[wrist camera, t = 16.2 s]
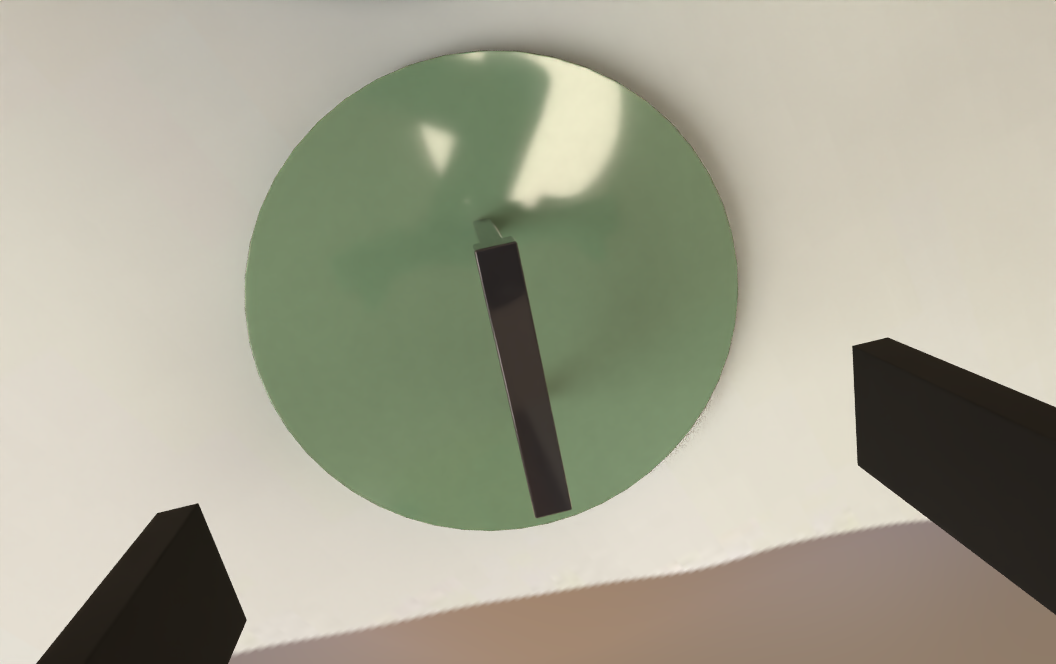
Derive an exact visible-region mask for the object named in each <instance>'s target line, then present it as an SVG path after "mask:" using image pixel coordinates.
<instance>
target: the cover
mask: <svg viewBox="0 0 1056 664" xmlns="http://www.w3.org/2000/svg"><path fill="white" fill-rule="evenodd" d="M737 299H738V280H737V261H736V255H735V249H734V243H733V237H732V232H731V229H730V225H729V222H728V219H727V216H726V212H725V209H724V206H723V203H722V201H721V199H720V196H719V194H718V192H717V190H716V188H715V186H714V183H713V181H712V179H711V177H710V175H709V173H708V172H707V170H706V168H705V167H704V165H703V164H702V162H701V161H700V159H699V157H698V156H697V154H696V153H695V151H694V150H693V148H692V147H691V146H690V144H689V143H688V142H687V141H686V140H685V139H684V137H683V136H682V135H681V134H680V133H679V132H678V130H677V129H676V128H675V127H674V126H673V125H672V123H671V122H670V121H668V120H667V119H666V118H665V117H664V116H663V115H662V114H660V113H659V112H658V111H657V110H656V109H655V108H654V107H653V106H651V105H650V104H649V103H648V102H647V101H646V100H644V99H643V98H641V97H640V96H638V95H637V94H635V93H634V92H632V91H631V90H629V89H628V88H626V87H625V86H623V85H621V84H620V83H618V82H617V81H615V80H613V79H610V78H608V77H606V76H604V75H602V74H600V73H598V72H596V71H594V70H591V69H589V68H587V67H585V66H581V65H578V64H575V63H572V62H568V61H565V60H562V59H559V58H555V57H552V56H546V55H540V54H533V53H527V52H521V51H489V50H480V51H472V52H464V53H457V54H449V55H443V56H440V57H436V58H432V59H429V60H425V61H422V62H418V63H414V64H411V65H408V66H406V67H404V68H401V69H399V70H397V71H394V72H392V73H390V74H388V75H385V76H383V77H381V78H378V79H376V80H375V81H373V82H371V83H370V84H368V85H367V86H365V87H363V88H362V89H360V90H359V91H357V92H355V93H354V94H352V95H351V96H349V97H347V98H346V99H344V100H343V101H342V102H341V103H340V104H339V105H337V106H336V107H335V108H334V109H333V110H331V111H330V112H329V113H328V114H327V115H326V116H324V117H323V118H322V119H321V120H320V121H318V122H317V123H316V125H315V126H314V127H313V128H312V129H311V130H310V131H309V133H308V134H307V135H306V136H305V137H304V138H303V139H302V140H301V142H300V143H299V144H298V145H297V146H296V147H295V148H294V150H293V151H292V153H291V154H290V156H289V157H288V159H287V160H286V162H285V163H284V165H283V166H282V168H281V170H280V171H279V173H278V174H277V176H276V177H275V179H274V181H273V183H272V185H271V187H270V189H269V192H268V194H267V196H266V198H265V200H264V202H263V205H262V207H261V209H260V211H259V215H258V218H257V221H256V225H255V228H254V231H253V235H252V238H251V241H250V246H249V253H248V260H247V267H246V273H245V314H246V321H247V329H248V336H249V343H250V346H251V350H252V353H253V357H254V360H255V364H256V367H257V371H258V374H259V376H260V378H261V381H262V383H263V385H264V388H265V390H266V392H267V394H268V397H269V399H270V401H271V403H272V405H273V406H274V408H275V410H276V411H277V413H278V415H279V416H280V418H281V420H282V421H283V423H284V424H285V426H286V428H287V429H288V430H289V432H290V433H291V434H292V435H293V437H294V438H295V439H296V440H297V442H298V443H299V444H300V445H301V447H302V448H303V449H304V450H305V452H306V453H307V454H308V455H309V456H310V457H311V458H313V459H314V460H315V461H316V462H317V463H318V464H319V465H320V466H321V467H322V468H323V469H324V470H325V471H326V472H327V473H328V474H330V475H331V476H332V477H334V478H335V479H336V480H338V481H339V482H340V483H342V484H343V485H344V486H346V487H347V488H349V489H350V490H351V491H353V492H354V493H356V494H358V495H360V496H361V497H363V498H365V499H367V500H369V501H370V502H372V503H374V504H376V505H378V506H380V507H382V508H384V509H387V510H389V511H392V512H394V513H397V514H399V515H401V516H404V517H406V518H410V519H414V520H417V521H421V522H424V523H428V524H432V525H436V526H442V527H449V528H455V529H462V530H483V531H496V530H510V529H522V528H527V527H532V526H537V525H543V524H548V523H551V522H555V521H558V520H561V519H564V518H568V517H571V516H574V515H577V514H579V513H582V512H584V511H586V510H588V509H591V508H593V507H595V506H598V505H600V504H602V503H604V502H606V501H607V500H609V499H611V498H613V497H614V496H616V495H618V494H619V493H621V492H623V491H625V490H626V489H628V488H629V487H631V486H632V485H633V484H635V483H636V482H637V481H639V480H640V479H641V478H643V477H644V476H645V475H647V474H648V473H649V472H651V471H652V470H653V469H654V468H655V467H656V466H657V465H658V464H659V463H660V462H661V461H662V460H663V459H665V458H666V457H667V456H668V455H669V454H670V453H671V452H672V451H673V449H674V448H675V447H676V446H677V445H678V444H679V442H680V441H681V440H682V439H683V438H684V436H685V435H686V434H687V433H688V432H689V431H690V429H691V428H692V426H693V425H694V423H695V422H696V420H697V419H698V417H699V416H700V414H701V413H702V411H703V410H704V408H705V407H706V405H707V403H708V401H709V399H710V397H711V395H712V393H713V391H714V389H715V387H716V385H717V383H718V381H719V378H720V375H721V373H722V370H723V367H724V364H725V361H726V359H727V356H728V353H729V349H730V344H731V340H732V336H733V331H734V327H735V320H736V310H737Z"/></svg>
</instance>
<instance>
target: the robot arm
mask: <svg viewBox="0 0 1056 664" xmlns="http://www.w3.org/2000/svg"><path fill="white" fill-rule="evenodd" d="M852 348H853V370H854V393H855V415H856V437H857V460H858V466H860V467H861V468H862V469H864V470H865V471H866V472H868V473H869V474H870V475H872V476H873V477H874V478H876V479H877V480H878V481H879V482H881V483H882V484H883V485H885V486H886V487H887V488H889V489H890V490H891V491H893V492H894V493H895V494H897V495H898V496H899V497H901V498H902V499H903V500H905V501H906V502H907V503H909V504H910V505H911V506H913V507H914V508H915V509H917V510H918V511H919V512H920V513H922V514H923V515H924V516H926V517H927V518H928V519H930V520H931V521H932V522H934V523H935V524H936V525H938V526H939V527H941V528H942V529H943V530H945V531H946V532H947V533H948V534H950V535H951V536H952V537H954V538H955V539H956V540H958V541H959V542H960V543H962V544H963V545H964V546H965V547H967V548H968V549H970V550H971V551H972V552H973V553H975V554H976V555H978V556H979V557H980V558H981V559H983V560H984V561H985V562H987V563H988V564H989V565H991V566H992V567H993V568H995V569H996V570H997V571H998V572H1000V573H1001V574H1002V575H1004V576H1005V577H1006V578H1008V579H1009V580H1010V581H1012V582H1013V583H1014V584H1016V585H1017V586H1018V587H1020V588H1021V589H1022V590H1024V591H1025V592H1026V593H1028V594H1029V595H1030V596H1032V597H1033V598H1034V599H1036V600H1037V601H1038V602H1040V603H1041V604H1042V605H1044V606H1045V607H1046V608H1047V609H1049V610H1050V611H1051V612H1053V613H1054V614H1055V615H1056V407H1054V406H1051V405H1049V404H1047V403H1044V402H1042V401H1039V400H1037V399H1034V398H1032V397H1030V396H1027V395H1025V394H1022V393H1020V392H1018V391H1015V390H1013V389H1010V388H1008V387H1006V386H1003V385H1001V384H998V383H996V382H994V381H991V380H989V379H986V378H984V377H982V376H979V375H977V374H974V373H972V372H970V371H967V370H965V369H962V368H960V367H958V366H955V365H953V364H950V363H948V362H946V361H943V360H941V359H938V358H936V357H933V356H931V355H929V354H926V353H924V352H921V351H919V350H917V349H914V348H912V347H909V346H907V345H905V344H902V343H900V342H897V341H895V340H893V339H890V338H884V339H880V340H876V341H871V342H867V343H863V344H859V345H855V346H852ZM246 621H247V620H246V617H245V615H244V612H243V610H242V607H241V605H240V603H239V600H238V598H237V595H236V593H235V591H234V588H233V586H232V583H231V581H230V579H229V576H228V574H227V571H226V569H225V566H224V564H223V562H222V559H221V557H220V554H219V552H218V550H217V547H216V545H215V542H214V540H213V537H212V535H211V533H210V530H209V528H208V525H207V523H206V521H205V518H204V516H203V513H202V511H201V509H200V506H199V504H194V505H189V506H185V507H181V508H177V509H173V510H169V511H164V512H160V513H157V514H156V515H155V517H154V518H153V519H152V520H151V522H150V523H149V524H148V525H147V527H146V528H145V529H144V530H143V532H142V533H141V534H140V535H139V537H138V538H137V539H136V540H135V542H134V543H133V544H132V545H131V546H130V548H129V549H128V550H127V551H126V553H125V554H124V555H123V556H122V558H121V559H120V560H119V561H118V563H117V564H116V565H115V566H114V568H113V569H112V570H111V571H110V573H109V574H108V575H107V576H106V578H105V579H104V580H103V581H102V583H101V584H100V585H99V586H98V588H97V589H96V590H95V591H94V592H93V594H92V595H91V596H90V597H89V599H88V600H87V601H86V602H85V604H84V605H83V606H82V607H81V609H80V610H79V611H78V612H77V614H76V615H75V616H74V617H73V619H72V620H71V621H70V622H69V624H68V625H67V626H66V627H65V629H64V630H63V631H62V632H61V633H60V635H59V636H58V637H57V638H56V640H55V641H54V642H53V643H52V645H51V646H50V647H49V648H48V650H47V651H46V652H45V653H44V655H43V656H42V657H41V658H40V660H39V661H38V662H37V663H36V664H228V662H229V660H230V658H231V656H232V653H233V651H234V649H235V646H236V644H237V642H238V639H239V637H240V635H241V632H242V630H243V628H244V625H245V623H246Z"/></svg>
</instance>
